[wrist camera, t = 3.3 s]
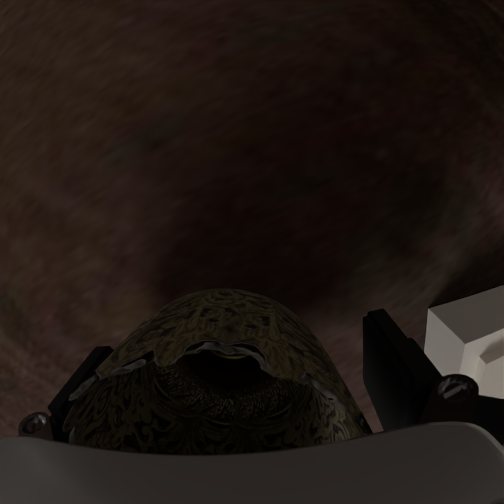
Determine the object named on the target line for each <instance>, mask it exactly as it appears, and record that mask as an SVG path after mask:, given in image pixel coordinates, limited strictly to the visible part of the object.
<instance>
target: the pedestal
mask: <svg viewBox="0 0 504 504" xmlns="http://www.w3.org/2000/svg"><path fill="white" fill-rule="evenodd" d="M424 353H425V354H426V355H427V357H428V358H429V359H430V361H431V362H432V363H433V364H434V366H435V367H436V368H437V370H438V371H439V372H440V374H441V375H442V376H446V375H449V374H463V375H467V376H469V377H471V378H473V379H474V380H475V381H476V382H477V384H478V387H479V395H484V396H489V397H495V398H500V399H504V285H502V286H499V287H496V288H493V289H490V290H487V291H484V292H481V293H478V294H475V295H472V296H469V297H466V298H462V299H459V300H456V301H452V302H449V303H446V304H442V305H439V306H435V307H432V308H428V318H427V330H426V340H425V349H424Z"/></svg>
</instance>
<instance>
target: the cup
mask: <svg viewBox="0 0 504 504" xmlns="http://www.w3.org/2000/svg"><path fill="white" fill-rule="evenodd" d="M74 399H75V400H74ZM72 400H74V401H73V403H72V408H71V410H70V412H69V414H68V416H67V418H66V420H65V422H64V424H63V432H68V431H69V430H71V429H72V428H73V429H72V430H71V431H70V435H69V444H75V445H80V446H86V447H93V448H100V449H108V450H116V451H126V452H137V453H151V454H172V455H217V454H239V453H254V452H265V451H275V450H284V449H291V448H299V447H305V446H312V445H318V444H324V443H329V442H335V441H340V440H345V439H349V438H354V437H359V436H364V435H365V434H366V435H368V434H373V432H372V430H371V428H370V426H369V425H368V423H367V421H366V419H365V417H364V416H363V413H362V412H361V411H360V409H359V407H358V406H357V404H356V402H355V400H354V399H353V397H352V395H351V393H350V391H349V390H348V388H347V386H346V384H345V383H344V381H343V379H342V378H341V376H340V374H339V372H338V371H337V369H336V367H335V366H334V364H333V362H332V361H331V359H330V357H329V356H328V354H327V352H326V351H325V349H324V348H323V346H322V345H321V343H320V342H319V340H318V339H317V338H316V336H315V335H314V334H313V333H312V331H311V330H310V329H309V328H308V326H307V325H306V324H305V323H304V322H303V321H302V320H301V319H300V318H299V317H298V316H297V315H295V314H294V313H293V312H292V311H290V310H289V309H288V308H287V307H285V306H284V305H282V304H280V303H279V302H277V301H275V300H273V299H271V298H269V297H267V296H264V295H261V294H258V293H255V292H251V291H246V290H240V289H233V288H216V289H207V290H201V291H197V292H194V293H190V294H187V295H185V296H183V297H180V298H178V299H176V300H174V301H172V302H170V303H169V304H167V305H165V306H164V307H162V308H161V309H160V310H158V311H157V312H156V313H154V314H153V315H151V316H150V317H149V318H148V319H147V320H145V321H144V322H143V323H142V324H141V325H140V326H139V327H138V328H137V329H136V330H135V331H134V332H133V333H131V334H130V335H129V336H128V337H127V338H126V339H125V340H124V341H123V342H122V343H121V344H120V345H119V346H118V347H117V348H116V349H115V350H114V351H113V352H112V353H111V354H110V355H109V356H108V357H107V358H106V359H105V360H104V362H103V363H102V364H101V365H100V366H99V367H98V368H97V369H96V370H95V371H94V372H93V373H92V374H90V375H89V376H88V377H87V378H86V379H85V380H84V381H83V382H82V383H81V384H80V385H79V386H78V387H77V388H76V389H75V390H74V391H73V392H72V393H71V395H70V396H69V401H72Z"/></svg>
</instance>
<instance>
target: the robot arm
mask: <svg viewBox="0 0 504 504" xmlns="http://www.w3.org/2000/svg"><path fill="white" fill-rule="evenodd" d="M113 351H114V350H113V349H112V348H111V347H110V346H101V347H96V348H95V349H94V350H93V351H92V352H91V353H90V355H89V356H88V357H87V358H86V360H85V361H84V362H83V363H82V364H81V366H80V367H79V368H78V369H77V370H76V372H75V373H74V374H73V375H72V377H71V378H70V379H69V380H68V382H67V383H66V384H65V385H64V387H63V388H62V389H61V390H60V392H59V393H58V394H57V396H56V397H55V398H54V399H53V401H52V402H51V403H50V405H49V406H48V409H49V411H50V412H51V414H52V415H51V416H50V417H49V416H48V415H47V414H46V413H44V412H36V413H32V414H30V415H28V416H27V417H25V418H24V419H23V420H22V421H21V423H20V425H19V429H18V430H19V436H17V437H10V438H5V439H1V440H0V504H504V399H500V398H495V397H489V396H484V395H479V387H478V384H477V382H476V381H475V380H474V379H473V378H471V377H469V376H467V375H463V374H449V375H446V376H442V375H441V374H440V372H439V371H438V370H437V368H436V367H435V366H434V364H433V363H432V362H431V361H430V359H429V358H428V357H427V355H426V354H425V353H424V352H423V350H422V349H421V348H420V347H419V345H418V344H417V343H416V342H415V340H414V339H412V338H407V337H406V336H405V335H404V333H403V332H402V331H401V329H400V328H399V327H398V326H397V324H396V323H395V322H394V321H393V319H392V318H391V317H390V316H389V315H388V313H387V312H386V311H385V310H384V309H379V310H374V311H369V312H368V314H367V316H365V317H363V380H364V384H365V387H366V389H367V391H368V394H369V396H370V398H371V401H372V403H373V405H374V408H375V410H376V412H377V415H378V417H379V420H380V422H381V424H382V427H383V429H384V431H382V432H377V433H373V434H368V435H364V436H359V437H354V438H349V439H345V440H340V441H335V442H329V443H324V444H318V445H312V446H305V447H299V448H291V449H284V450H275V451H265V452H254V453H239V454H217V455H172V454H151V453H137V452H126V451H116V450H108V449H100V448H93V447H86V446H80V445H75V444H69V435H70V431H71V430H72V429H73V428H72V429H71V430H69V431H68V432H63V424H64V422H65V420H66V418H67V416H68V414H69V412H70V410H71V408H72V403H73V401H74V400H75V399H74V400H72V401H69V396H70V395H71V393H72V392H73V391H74V390H75V389H76V388H77V387H78V386H79V385H80V384H81V383H82V382H83V381H84V380H85V379H86V378H87V377H88V376H89V375H90V374H92V373H93V372H94V371H95V370H96V369H97V368H98V367H99V366H100V365H101V364H102V363H103V362H104V360H105V359H106V358H107V357H108V356H109V355H110V354H111V353H112V352H113Z"/></svg>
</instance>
